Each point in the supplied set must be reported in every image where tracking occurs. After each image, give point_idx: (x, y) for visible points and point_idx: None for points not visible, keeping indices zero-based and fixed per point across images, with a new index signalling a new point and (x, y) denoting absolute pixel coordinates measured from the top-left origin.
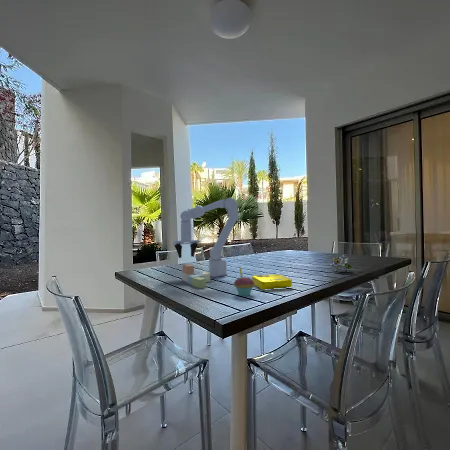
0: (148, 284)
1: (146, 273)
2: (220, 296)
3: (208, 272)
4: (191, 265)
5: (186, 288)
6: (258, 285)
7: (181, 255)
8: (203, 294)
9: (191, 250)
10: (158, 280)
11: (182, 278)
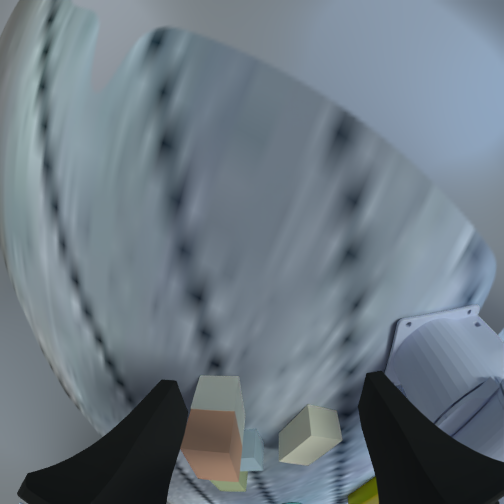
0: (55, 352)
1: (58, 59)
2: (238, 501)
3: (327, 446)
4: (229, 475)
5: (182, 456)
6: (357, 495)
7: (181, 440)
8: (209, 489)
9: (397, 446)
10: (81, 311)
11: (198, 382)
